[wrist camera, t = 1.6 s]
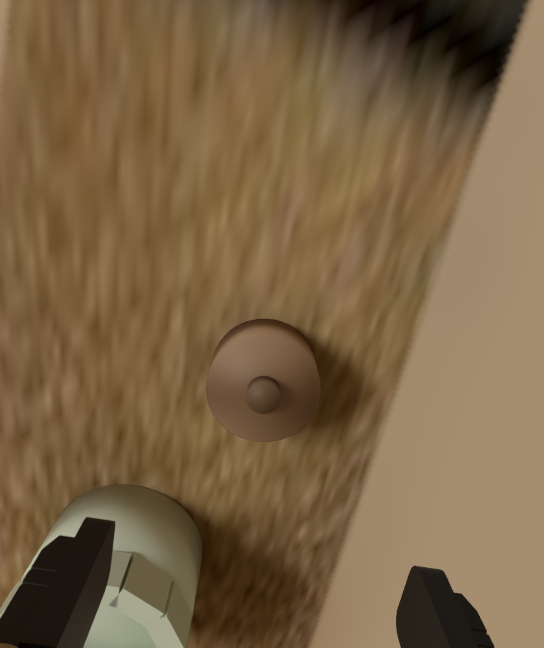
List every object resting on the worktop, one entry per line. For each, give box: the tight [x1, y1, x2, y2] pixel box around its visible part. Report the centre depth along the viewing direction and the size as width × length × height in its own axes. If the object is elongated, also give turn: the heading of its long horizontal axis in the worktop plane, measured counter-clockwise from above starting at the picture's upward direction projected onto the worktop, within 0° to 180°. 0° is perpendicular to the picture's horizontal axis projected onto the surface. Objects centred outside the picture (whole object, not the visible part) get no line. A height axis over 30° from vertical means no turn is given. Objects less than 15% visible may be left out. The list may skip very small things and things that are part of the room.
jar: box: [0, 485, 203, 648], centre depth 26 cm, size 9×9×7 cm
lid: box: [206, 319, 321, 442], centre depth 24 cm, size 6×6×4 cm
